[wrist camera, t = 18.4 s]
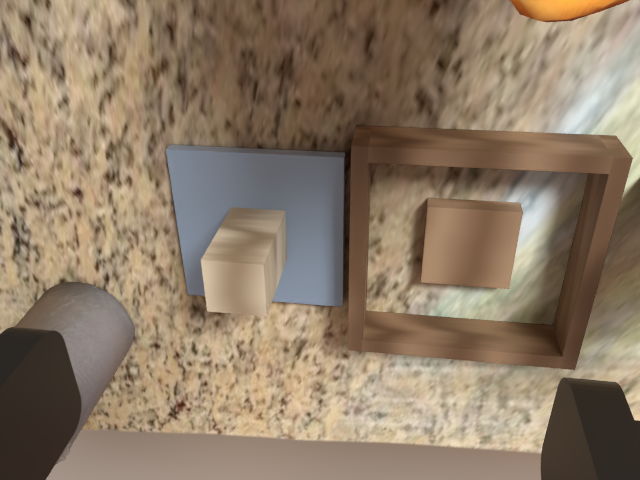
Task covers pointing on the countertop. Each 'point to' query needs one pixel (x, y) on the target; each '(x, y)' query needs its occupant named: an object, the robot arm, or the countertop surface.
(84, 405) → the pillar candle
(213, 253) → the maple block
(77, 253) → the countertop surface
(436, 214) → the brown wooden square frame
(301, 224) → the pad
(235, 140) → the countertop surface
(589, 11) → the decorative vase
